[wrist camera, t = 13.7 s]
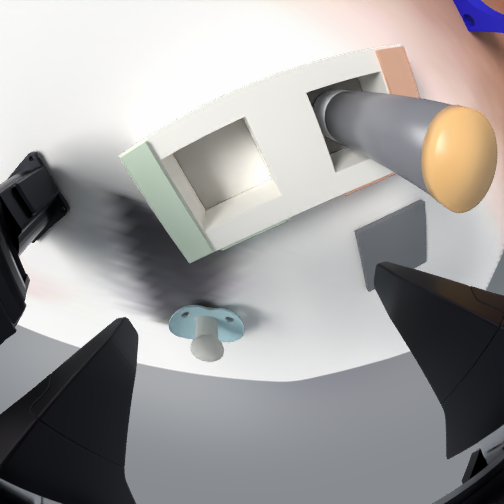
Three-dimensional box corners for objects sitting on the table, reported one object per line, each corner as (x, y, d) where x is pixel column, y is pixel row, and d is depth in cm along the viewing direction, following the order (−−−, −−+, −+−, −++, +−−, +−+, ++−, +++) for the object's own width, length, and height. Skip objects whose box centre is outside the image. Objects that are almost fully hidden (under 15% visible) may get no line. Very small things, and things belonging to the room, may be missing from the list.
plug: (335, 150, 19) (454, 232, 8) (300, 112, 17) (418, 154, 7) (369, 118, 18) (504, 170, 7) (337, 78, 16) (478, 89, 5)
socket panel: (194, 241, 22) (191, 268, 19) (133, 145, 17) (116, 157, 14) (405, 149, 20) (432, 161, 16) (375, 47, 15) (403, 43, 11)
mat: (366, 288, 28) (368, 291, 27) (354, 231, 24) (357, 234, 23) (423, 258, 27) (426, 261, 26) (420, 199, 22) (424, 202, 22)
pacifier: (233, 338, 30) (246, 302, 27) (238, 386, 25) (253, 354, 22) (169, 331, 28) (172, 293, 25) (164, 380, 23) (165, 346, 20)
